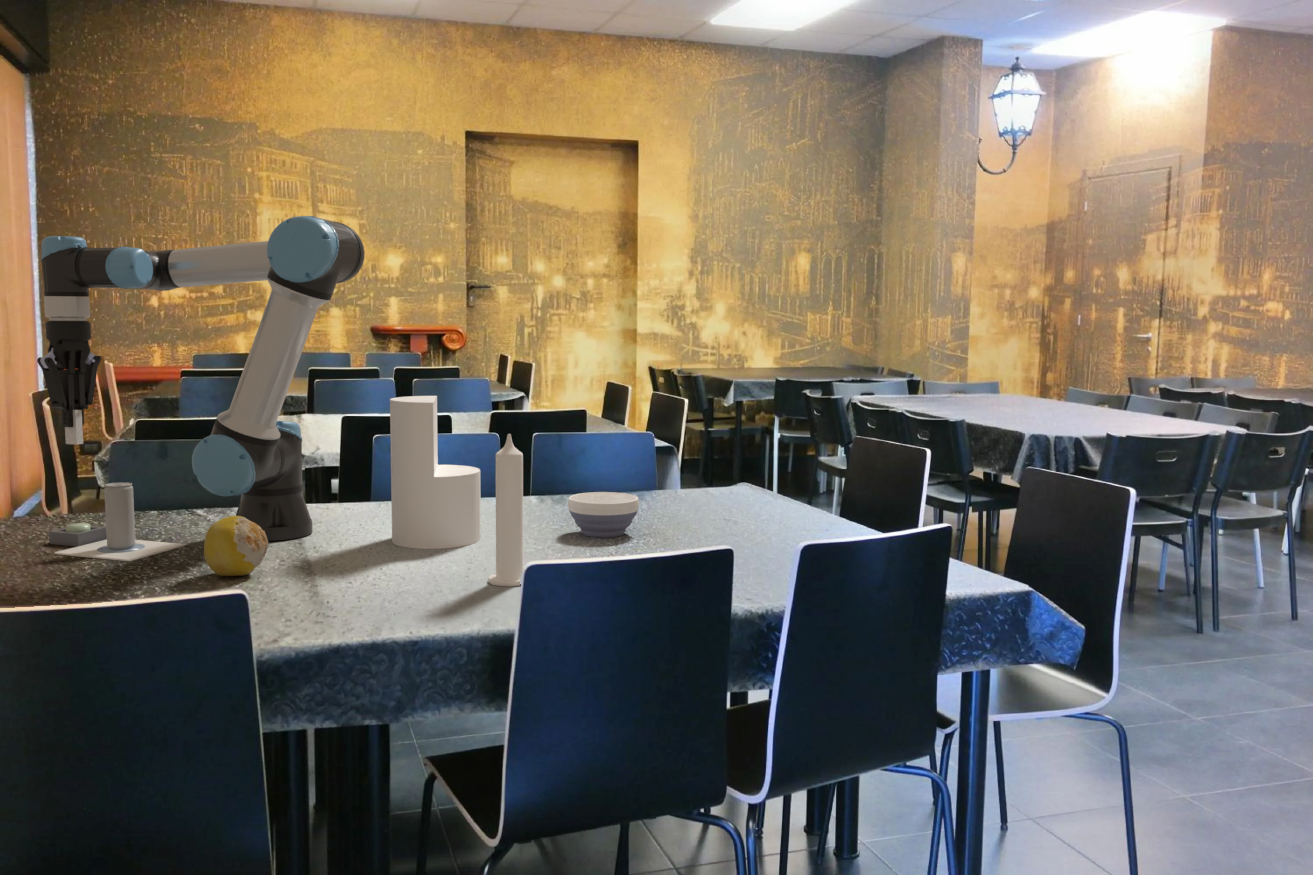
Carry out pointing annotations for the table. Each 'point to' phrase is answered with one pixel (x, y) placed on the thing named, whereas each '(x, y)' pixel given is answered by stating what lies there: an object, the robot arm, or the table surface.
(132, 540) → the beverage can
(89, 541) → the button housing
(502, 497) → the candle
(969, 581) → the table surface
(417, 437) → the white notched round column
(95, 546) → the paper sheet
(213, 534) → the fruit
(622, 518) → the bowl
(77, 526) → the button
